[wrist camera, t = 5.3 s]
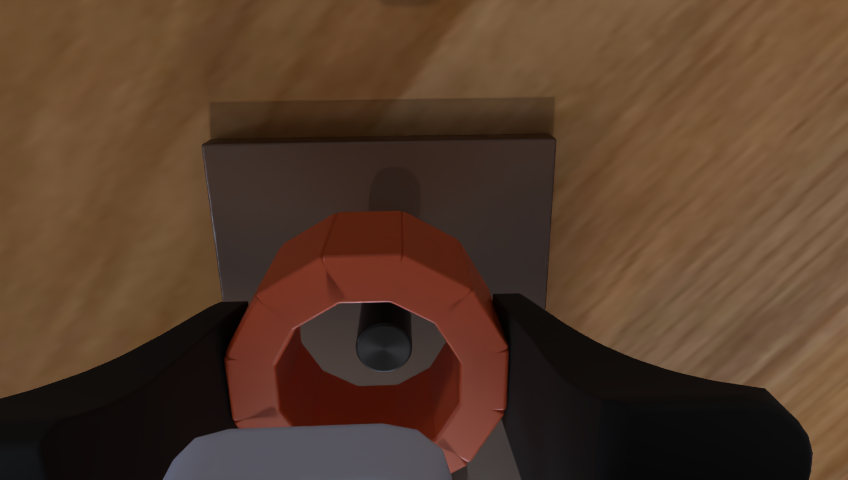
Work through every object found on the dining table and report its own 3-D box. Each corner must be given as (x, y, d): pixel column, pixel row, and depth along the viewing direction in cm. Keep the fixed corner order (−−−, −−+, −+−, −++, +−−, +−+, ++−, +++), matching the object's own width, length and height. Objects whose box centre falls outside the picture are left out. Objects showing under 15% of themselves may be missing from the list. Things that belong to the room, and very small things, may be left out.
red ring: (320, 167, 13) (301, 202, 10) (531, 277, 14) (562, 334, 12) (221, 362, 15) (181, 435, 12) (419, 448, 16) (423, 532, 13)
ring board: (209, 138, 21) (162, 166, 17) (550, 133, 21) (587, 158, 17) (274, 633, 29) (253, 735, 25) (520, 622, 29) (540, 720, 25)
